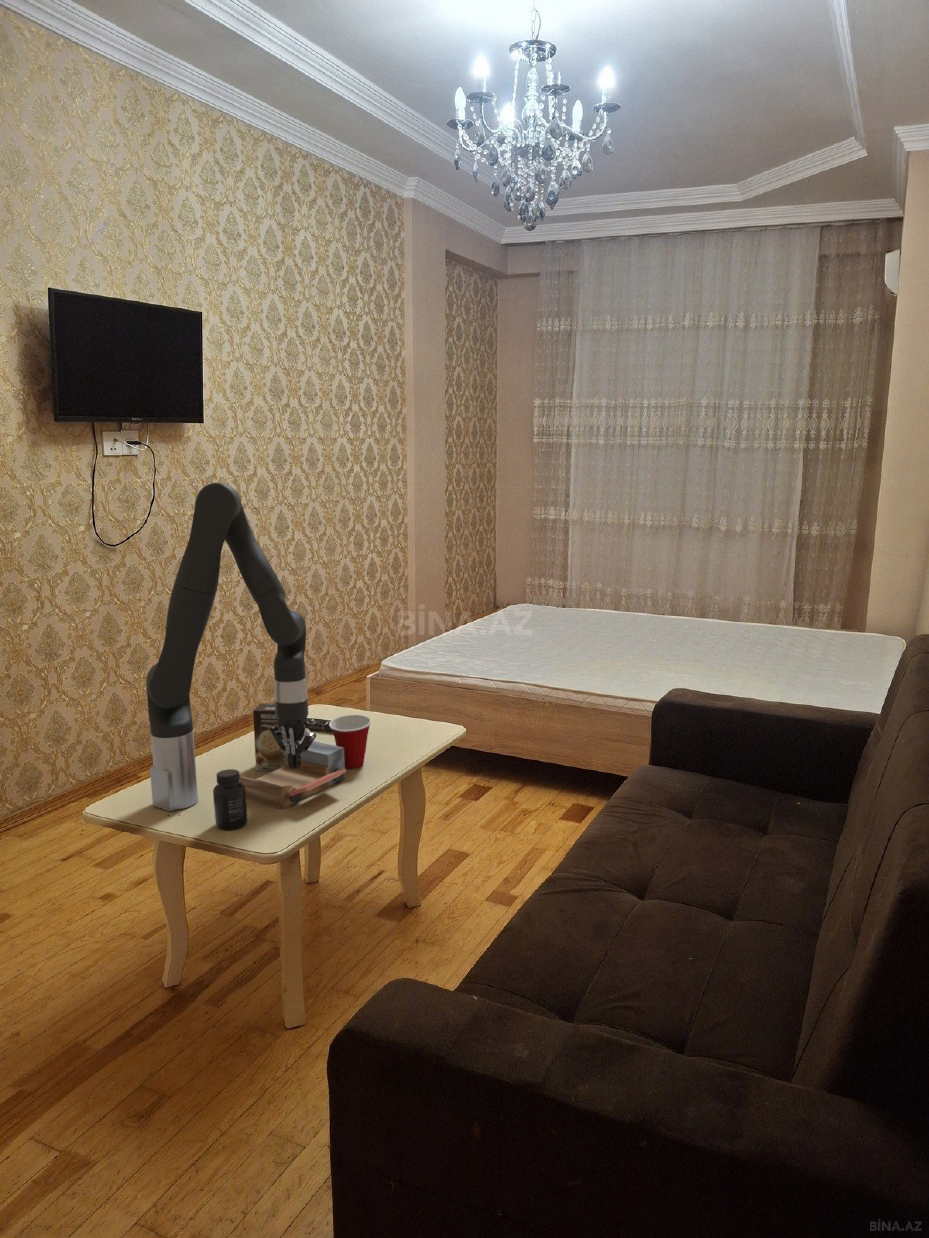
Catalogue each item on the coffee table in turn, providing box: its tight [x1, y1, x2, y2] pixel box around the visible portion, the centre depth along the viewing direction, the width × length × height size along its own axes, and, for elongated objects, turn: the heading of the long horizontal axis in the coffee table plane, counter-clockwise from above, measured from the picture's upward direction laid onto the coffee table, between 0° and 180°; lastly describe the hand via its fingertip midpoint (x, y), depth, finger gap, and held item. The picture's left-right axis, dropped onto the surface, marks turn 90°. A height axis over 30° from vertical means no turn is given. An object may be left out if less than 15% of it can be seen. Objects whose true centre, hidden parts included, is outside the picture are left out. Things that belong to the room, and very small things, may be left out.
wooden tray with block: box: [240, 740, 346, 810], centre depth 215 cm, size 22×14×8 cm, turn 147°
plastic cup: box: [328, 714, 372, 770], centre depth 230 cm, size 11×11×12 cm
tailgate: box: [289, 768, 347, 796], centre depth 207 cm, size 14×1×6 cm
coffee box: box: [252, 702, 288, 772], centre depth 229 cm, size 9×6×16 cm
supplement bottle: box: [212, 768, 248, 832], centre depth 195 cm, size 7×7×12 cm
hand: (294, 767), depth 211 cm, fingers closed
